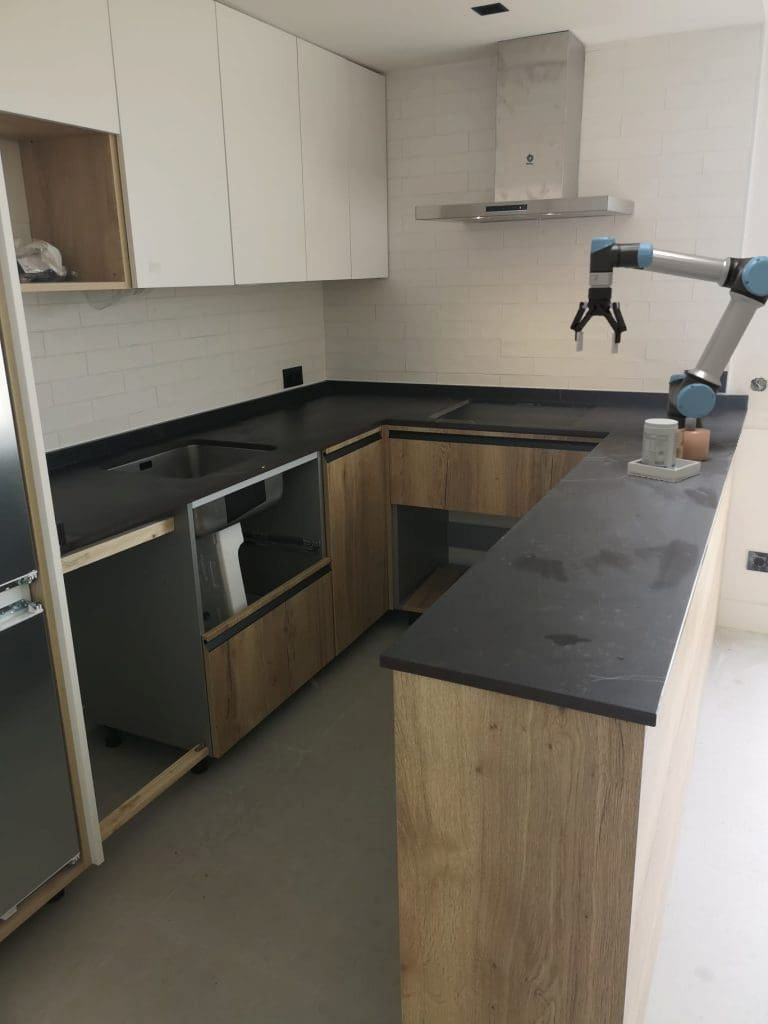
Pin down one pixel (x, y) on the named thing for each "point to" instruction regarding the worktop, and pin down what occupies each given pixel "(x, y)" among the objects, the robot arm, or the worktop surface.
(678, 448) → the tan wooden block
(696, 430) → the peach lotion bottle
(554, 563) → the worktop surface
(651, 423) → the supplement tub
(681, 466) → the tray
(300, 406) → the worktop surface
